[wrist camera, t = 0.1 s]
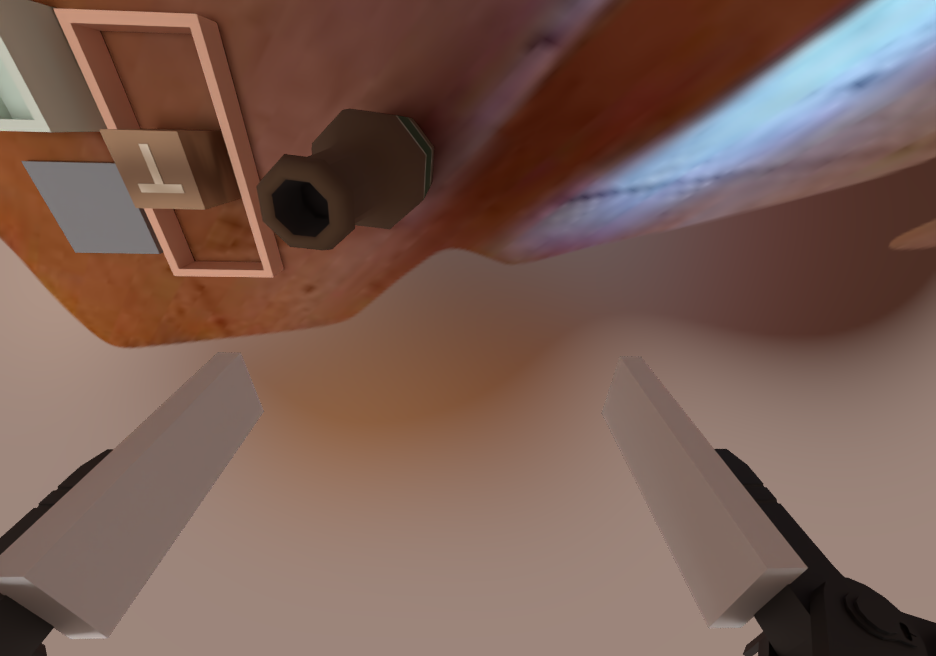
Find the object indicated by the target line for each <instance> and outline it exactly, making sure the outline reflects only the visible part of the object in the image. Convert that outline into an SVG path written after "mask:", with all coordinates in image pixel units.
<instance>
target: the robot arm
mask: <svg viewBox="0 0 936 656" xmlns="http://www.w3.org/2000/svg"><path fill="white" fill-rule="evenodd" d="M263 412H264V411H263V408H262V406H261V403H260V401H259V398H258V396H257V393H256V390H255V388H254V385H253V383H252V380H251V378H250V375H249V373H248V370H247V367H246V365H245V362H244V360H243V357H242V355H241V353H224V352H222V353H221V352H218V353H217V354H216V355H214V356H213V357H212V358H211V359H210V360H209V361H208V362H207V363H206V364H205V365H204V366H203V367H202V368H201V369H199V370H198V371H197V372H196V373H195V374H194V375H193V376H192V377H191V378H190V379H189V380H188V381H187V382H186V383H185V384H183V385H182V386H181V387H180V388H179V389H178V390H177V391H176V392H175V393H174V394H173V395H172V396H171V397H169V398H168V399H167V400H166V401H165V402H164V403H163V404H162V405H161V406H160V407H159V408H158V409H157V410H155V411H154V412H153V413H152V414H151V415H150V416H149V417H148V418H147V419H146V420H145V421H144V422H143V423H142V424H140V425H139V426H138V427H137V428H136V429H135V430H134V431H133V432H132V433H131V434H130V435H129V436H128V437H126V438H125V439H124V440H123V441H122V442H121V443H120V444H119V445H118V446H117V447H116V448H115V449H110V450H109V449H108V450H106V451H104V452H102V453H101V454H99V455H98V456H96V457H95V458H93V459H91V460H90V461H88V462H87V463H85V464H83V465H82V466H80V467H79V468H78V469H77V470H76V471H75V472H73V473H72V474H71V475H70V476H69V477H68V478H67V479H66V480H65V481H63V482H62V483H61V484H60V485H59V486H58V489H57V490H56V491H52V492H51V493H50V494H49V495H48V496H47V497H46V498H44V499H43V500H42V501H41V502H40V503H39V506H38V507H37V508H33V509H32V510H31V511H30V512H29V513H28V514H26V515H25V516H24V517H23V518H22V519H21V520H20V521H19V522H18V523H16V524H15V525H14V526H13V527H12V528H11V529H10V530H9V531H7V532H6V534H4V535H3V536H2V537H1V538H0V656H47V654H46V648H45V645H43V644H42V641H43V640H44V639H45V638H46V637H47V635H48V634H49V633H50V632H51V630H52V629H53V628H55V629H56V630H58V631H59V632H61V633H62V634H64V635H65V636H67V637H68V638H70V639H92V638H93V639H95V638H108V637H109V636H110V635H111V633H112V632H113V630H114V629H115V627H116V626H117V624H118V623H119V621H120V620H121V618H122V617H123V615H124V614H125V613H126V611H127V610H128V608H129V607H130V605H131V604H132V603H133V601H134V600H135V598H136V597H137V595H138V594H139V592H140V591H141V589H142V588H143V586H144V585H145V584H146V582H147V581H148V579H149V578H150V576H151V575H152V573H153V572H154V571H155V569H156V568H157V566H158V565H159V563H160V562H161V560H162V559H163V557H164V556H165V555H166V553H167V552H168V550H169V549H170V547H171V546H172V544H173V543H174V541H175V540H176V539H177V537H178V536H179V534H180V533H181V531H182V530H183V528H184V527H185V525H186V524H187V522H188V521H189V520H190V518H191V517H192V515H193V514H194V512H195V511H196V509H197V508H198V507H199V505H200V504H201V502H202V501H203V499H204V498H205V496H206V495H207V493H208V492H209V491H210V489H211V488H212V486H213V485H214V483H215V482H216V480H217V479H218V478H219V476H220V475H221V473H222V472H223V470H224V469H225V467H226V466H227V464H228V463H229V461H230V460H231V459H232V457H233V456H234V454H235V453H236V451H237V450H238V448H239V447H240V445H241V444H242V443H243V441H244V440H245V438H246V437H247V435H248V434H249V432H250V431H251V430H252V428H253V426H254V425H255V424H256V422H257V421H258V419H259V418H260V417H261V415H262V413H263ZM602 415H603V417H604V419H605V421H606V423H607V425H608V427H609V429H610V431H611V433H612V435H613V437H614V439H615V441H616V443H617V445H618V447H619V449H620V451H621V453H622V455H623V457H624V459H625V461H626V463H627V465H628V467H629V469H630V471H631V473H632V475H633V477H634V479H635V481H636V483H637V485H638V487H639V489H640V491H641V493H642V495H643V497H644V499H645V501H646V503H647V505H648V507H649V509H650V512H651V514H652V515H653V518H654V520H655V522H656V523H657V525H658V527H659V530H660V532H661V534H662V536H663V538H664V540H665V542H666V543H667V546H668V548H669V550H670V552H671V554H672V556H673V558H674V560H675V562H676V564H677V566H678V568H679V570H680V572H681V574H682V576H683V578H684V580H685V582H686V584H687V586H688V588H689V590H690V592H691V594H692V596H693V598H694V600H695V602H696V604H697V606H698V608H699V610H700V612H701V614H702V616H703V618H704V620H705V622H706V624H707V626H708V628H741V627H742V626H744V625H745V624H746V623H747V622H748V621H749V620H750V619H751V618H752V617H755V618H756V620H757V622H758V623H759V625H760V627H761V628H762V630H763V632H762V633H761V634H760V635H759V636H757V637H756V638H755V639H754V640H753V641H751V642H750V643H749V644H747V645H746V647H745V650H744V653H743V655H745V656H753V655H754V654H756V653H757V652H758V656H936V623H934V622H931V621H928V620H924V619H922V618H918V617H915V616H912V615H909V614H905V613H903V612H901V611H899V610H898V609H897V608H896V607H895V606H894V605H893V604H892V603H890V602H889V601H888V600H887V599H886V598H885V597H883V596H882V595H880V594H879V593H877V592H875V591H874V590H872V589H871V588H869V587H868V586H866V585H864V584H862V583H859V582H857V581H854V580H852V579H850V578H845V577H844V576H843V575H842V574H840V572H839V571H838V570H837V569H836V568H835V567H834V566H833V565H832V564H831V563H830V561H829V560H828V559H827V558H826V557H825V555H824V554H823V553H822V552H821V551H820V550H819V548H818V547H817V546H816V545H815V544H814V543H813V541H812V540H811V539H810V538H809V537H808V536H807V534H806V533H805V532H804V531H803V530H802V528H800V526H799V525H798V524H797V523H796V521H795V520H794V519H793V518H792V517H791V516H790V514H789V513H788V512H787V511H786V510H785V509H784V507H783V506H782V505H781V504H778V503H777V500H776V498H775V497H774V496H773V494H772V493H771V492H770V491H769V490H768V489H767V488H766V487H764V486H763V483H762V482H761V480H760V479H759V478H758V477H757V476H756V474H755V473H754V472H753V471H752V470H751V469H750V468H749V466H748V465H747V464H745V463H744V462H743V461H742V460H740V459H739V458H738V457H736V456H735V455H734V454H732V453H731V452H730V451H729V450H727V449H714V448H713V447H712V446H711V445H710V443H709V442H708V441H707V440H706V438H705V437H704V436H703V434H702V433H701V432H700V431H699V429H698V428H697V427H696V426H695V424H694V423H693V422H692V421H691V419H690V418H689V417H688V416H687V414H686V413H685V412H684V411H683V409H682V408H681V407H680V405H679V404H678V403H677V402H676V400H675V399H674V398H673V397H672V395H671V394H670V393H669V392H668V390H667V389H666V388H665V387H664V385H663V384H662V383H661V381H660V380H659V379H658V378H657V376H656V375H655V374H654V372H653V371H652V370H651V369H650V368H649V366H648V365H647V364H646V363H645V361H644V360H643V359H642V357H619V361H618V364H617V367H616V370H615V373H614V376H613V379H612V382H611V386H610V389H609V392H608V395H607V398H606V401H605V404H604V407H603V411H602Z"/></svg>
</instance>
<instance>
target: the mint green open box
mask: <svg viewBox="0 0 936 656" xmlns="http://www.w3.org/2000/svg"><path fill="white" fill-rule="evenodd" d="M53 8H54V7H50V6H47V5H43V4H40V3H37V2H33V1H30V0H0V131H30V132H100V130H99V129H108V128H107V126H106V124H105V122H104V120H103V117H102V115H101V113H100V111H99V109H98V106H97V104H96V102H95V100H94V98H93V95H92V93H91V91H90V89H89V87H88V84H87V82H86V80H85V78H84V76H83V73H82V71H81V69H80V67H79V65H78V62H77V60H76V58H75V56H74V54H73V51H72V49H71V47H70V45H69V43H68V40H67V38H66V36H65V34H64V31H63V29H62V27H61V25H60V23H59V20H58V18H57V16H56V14H55V12H54V9H53ZM56 9H57V8H56Z"/></svg>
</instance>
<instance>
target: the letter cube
mask: <svg viewBox="0 0 936 656" xmlns="http://www.w3.org/2000/svg"><path fill="white" fill-rule="evenodd" d="M99 130H100V132H101V134H102V137H103V139H104V141H105V143H106V145H107V147H108V149H109V152H110V154H111V156H112V158H113V160H114V162H115V164H116V167H117V169H118V171H119V173H120V175H121V177H122V180H123V182H124V184H125V186H126V188H127V190H128V192H129V195H130V197H131V199H132V201H133V203H134V205H135V208H154V209H203V210H205V209H209V208H212V207H215V206H218V205H221V204H224V203H227V202H230V201H233V200H236V199H239V198H242V196H241V193H240V190H239V187H238V183H237V180H236V177H235V173H234V170H233V167H232V164H231V160H230V157H229V154H228V150H227V147H226V144H225V141H224V137H223V134H222V131H212V130H177V129H99Z"/></svg>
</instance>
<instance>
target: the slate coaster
mask: <svg viewBox="0 0 936 656" xmlns="http://www.w3.org/2000/svg"><path fill="white" fill-rule="evenodd" d="M21 162H22V163H23V165H24V167H25V168H26V170H27V172H28V173H29V175H30V177H31V178H32V180H33V182H34V183H35V185H36V187H37V189H38V190H39V192H40V194H41V195H42V197H43V199H44V200H45V202H46V204H47V205H48V207H49V209H50V210H51V212H52V214H53V216H54V217H55V219H56V221H57V222H58V224H59V226H60V227H61V229H62V231H63V232H64V234H65V236H66V237H67V239H68V241H69V243H70V244H71V246H72V248H73V249H74V251H75V252H80V253H139V254H160V253H163V250H162V248H161V245H160V243H159V241H158V239H157V236H156V234H155V232H154V230H153V228H152V225H151V223H150V221H149V219H148V217H147V214H146V212H145V210H144V208H135V205H134V203H133V201H132V199H131V197H130V195H129V192H128V190H127V188H126V186H125V184H124V182H123V180H122V177H121V175H120V173H119V171H118V169H117V167H116V164H115V163H101V162H60V161H21Z"/></svg>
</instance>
